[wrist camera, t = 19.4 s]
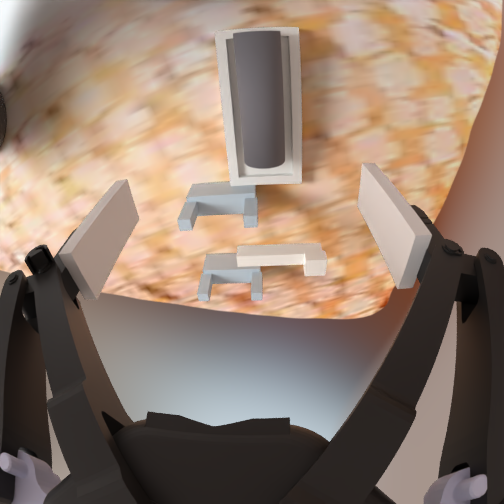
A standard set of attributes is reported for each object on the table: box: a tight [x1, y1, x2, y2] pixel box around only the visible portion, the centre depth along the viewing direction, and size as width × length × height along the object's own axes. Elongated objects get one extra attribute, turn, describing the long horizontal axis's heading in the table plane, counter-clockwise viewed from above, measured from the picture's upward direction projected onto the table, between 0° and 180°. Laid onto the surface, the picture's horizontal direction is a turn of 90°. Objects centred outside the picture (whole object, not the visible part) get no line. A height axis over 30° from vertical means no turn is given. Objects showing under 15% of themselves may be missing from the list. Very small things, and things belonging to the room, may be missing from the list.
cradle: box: [177, 181, 262, 301], centre depth 41 cm, size 16×10×8 cm, turn 4°
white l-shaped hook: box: [236, 243, 327, 276], centre depth 34 cm, size 2×10×4 cm, turn 94°
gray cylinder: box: [233, 31, 285, 169], centre depth 29 cm, size 16×5×5 cm, turn 4°
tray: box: [215, 27, 302, 186], centre depth 32 cm, size 21×10×2 cm, turn 4°
